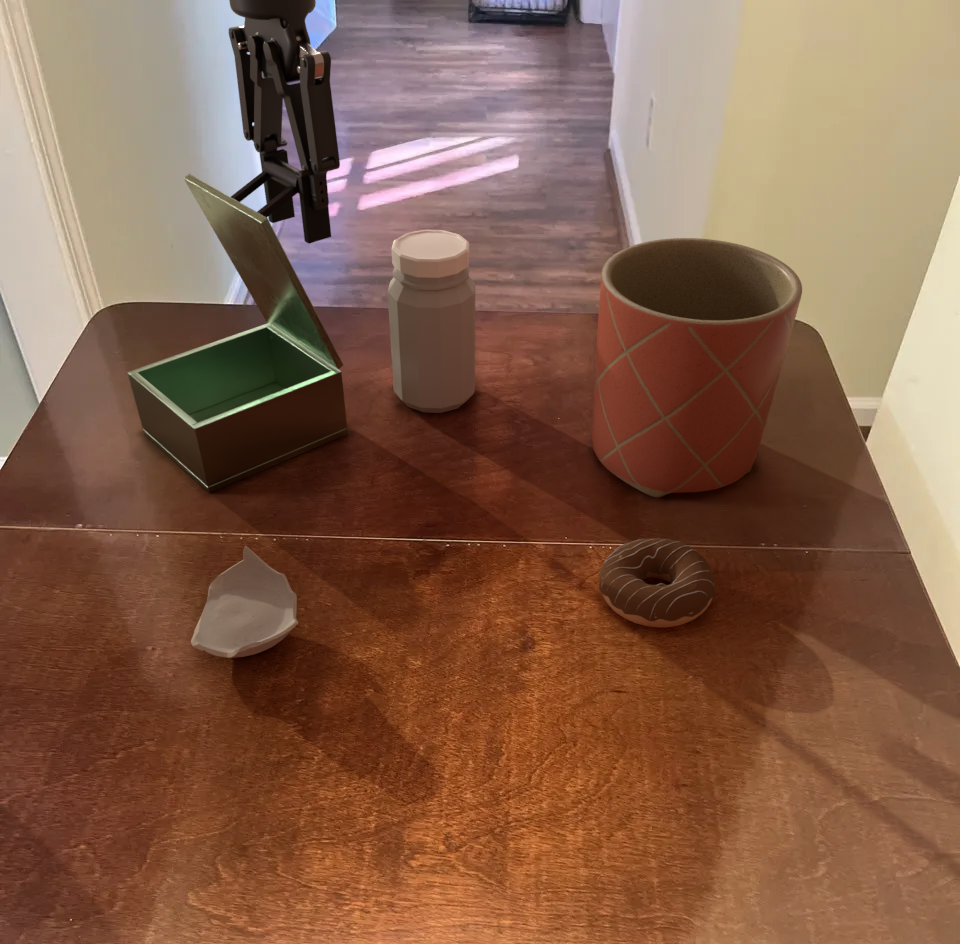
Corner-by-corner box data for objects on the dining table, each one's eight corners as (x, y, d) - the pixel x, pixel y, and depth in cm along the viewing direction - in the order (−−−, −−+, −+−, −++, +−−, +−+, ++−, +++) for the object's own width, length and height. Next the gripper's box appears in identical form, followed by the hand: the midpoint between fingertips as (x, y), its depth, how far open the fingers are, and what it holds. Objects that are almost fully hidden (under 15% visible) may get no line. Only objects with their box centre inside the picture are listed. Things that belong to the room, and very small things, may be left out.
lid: (260, 222, 90) (327, 169, 91) (183, 178, 98) (246, 129, 99) (338, 369, 105) (395, 321, 106) (265, 321, 113) (319, 276, 114)
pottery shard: (238, 582, 92) (230, 540, 89) (342, 616, 89) (337, 574, 86) (171, 653, 85) (159, 611, 82) (280, 692, 82) (272, 650, 79)
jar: (377, 393, 117) (365, 242, 104) (439, 366, 122) (435, 218, 109) (430, 426, 112) (424, 271, 99) (492, 396, 117) (495, 245, 104)
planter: (641, 524, 99) (668, 340, 85) (554, 429, 111) (566, 255, 98) (795, 479, 105) (845, 300, 91) (697, 394, 117) (727, 225, 103)
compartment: (209, 493, 102) (194, 428, 97) (144, 434, 110) (127, 371, 105) (348, 434, 111) (341, 371, 105) (278, 383, 118) (268, 322, 113)
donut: (720, 638, 87) (728, 605, 84) (601, 636, 87) (605, 603, 85) (703, 561, 95) (710, 528, 92) (593, 559, 95) (597, 526, 92)
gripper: (367, -29, 81) (384, 248, 97) (248, -63, 92) (281, 193, 108) (290, -17, 78) (321, 269, 94) (175, -54, 88) (220, 210, 104)
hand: (299, 228), depth 101 cm, fingers closed on lid, 6 cm apart
